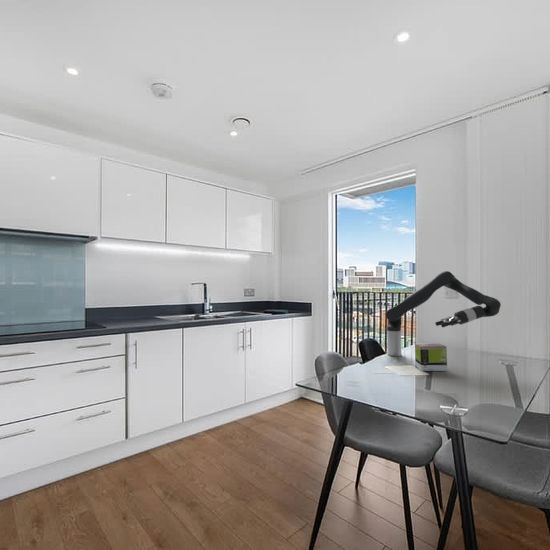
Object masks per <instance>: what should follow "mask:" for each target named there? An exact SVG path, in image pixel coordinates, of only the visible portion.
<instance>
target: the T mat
mask: <svg viewBox="0 0 550 550" xmlns="http://www.w3.org/2000/svg"><path fill="white" fill-rule="evenodd" d="M384 369H385V370H388V369H390V370H393V371H398V372H401V373H404V374H406V375H412V376H415V375H416V376H429V375H430V373H427V372H426V371H421V370H419V369H418V368H417V367H416V366H414V365H411V364H410V365H409V364H408V365H393V366H392V365H391V366H386V365H385V366H384ZM416 376H415V377H416Z"/></svg>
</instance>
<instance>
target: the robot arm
mask: <svg viewBox="0 0 550 550" xmlns="http://www.w3.org/2000/svg"><path fill="white" fill-rule="evenodd" d="M442 287H445V288H448V289H450V290H453V291H455V292H457V293H459V294H460V295H462V296H463V297H465V299H468V300H469V301H470V302H472V303H473V304H475V305H476V306H473V307H470V308H465V309H462V310H458V311H455V312H454V314H453V315H454V316H448V317H445V318H441V319H440V320H438V321H435V323H434V324H435V326H436V327H439V326H441V328H446V327H448V326H449V327H450V326H455V325H464V324H467V323H470V322H474V321H475V320H477V319H480V318H486V317H489V318H490V317H494V316H497V315H498V314H499V313H500V309H501V304H502V303H501V301H499V300H498V299H497V298H495V297H492V296H489V295H486V294H484V293H482V292H480V291H478V290H477V289H475V288H472V287H470V286H468V285H467V284H464V283H463V282H462V281H460V280H459V279H457V278H456V276H455V275H454V274H453V273H452V272H451V271H448V270H445V271H441V272H440V273H439V274H438V275H436V276H435V277H434V278H433V279H431V280H430V281H429V282H427V283H426V284H424V285H423V286H422V287H420V288H419V289H417V290H415V291H414V292H412V293H411V294H410V295H408V296H407V297H406V298H405V299H403V300H402V301H401V302H400V303H398V304H397V305H395V306H393V307H391V308H389V309H387V310H386V313H385V318H386V319H387V326H386V333H387V334H386V339H387V341H386V342H387V343H386V344H387V346H386V347H387V349H386V350H387V355H388V356H391V357H400V356H402V316H404V315H405V314H406V313H408V312H410V311H411V310H414V309H415V308H418V307H420V306H421V305H422V304H424V303H425V302H427V301H428V300H429V299H430V298H431V297H432V296H433V294H434V293H435V292H436V291H437V290H439V289H441V288H442ZM481 305H485V307H483V306H481Z"/></svg>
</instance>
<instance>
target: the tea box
mask: <svg viewBox="0 0 550 550" xmlns="http://www.w3.org/2000/svg"><path fill="white" fill-rule="evenodd" d="M414 350H415V351H414V354H415V357H414V358H415V367H416V368H418V369H419V370H421V371H424V372H448V354H447V346H446V345H445V344H442V343H440V342H436V343H435V342H430V343H429V342H425V343H424V342H422V343H419V342H418V343H414Z"/></svg>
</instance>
